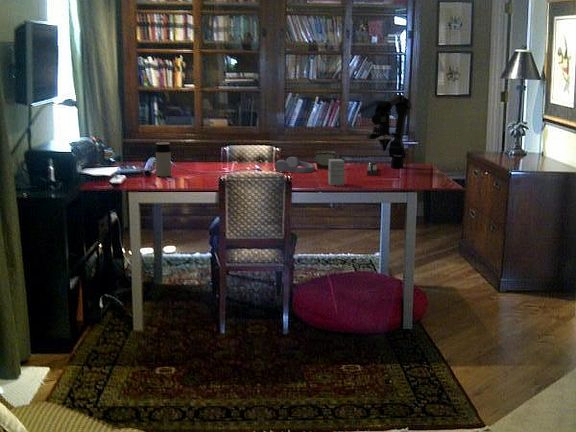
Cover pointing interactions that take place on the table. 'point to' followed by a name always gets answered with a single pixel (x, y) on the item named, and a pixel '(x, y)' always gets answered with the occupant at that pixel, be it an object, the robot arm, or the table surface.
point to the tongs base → (370, 166)
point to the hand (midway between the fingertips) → (383, 151)
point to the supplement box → (336, 172)
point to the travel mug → (163, 159)
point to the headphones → (293, 165)
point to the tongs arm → (374, 170)
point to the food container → (324, 158)
